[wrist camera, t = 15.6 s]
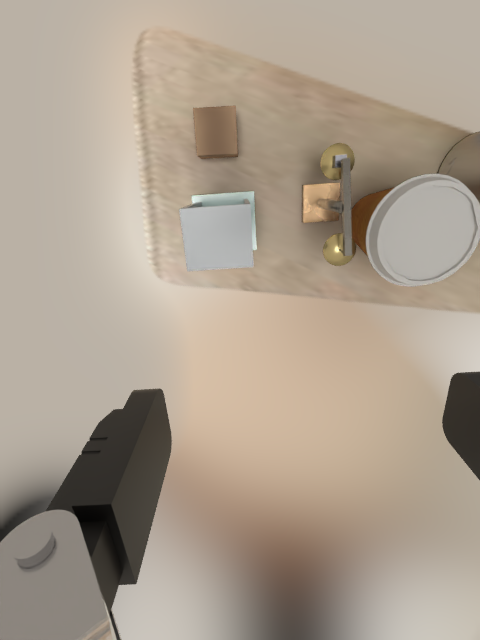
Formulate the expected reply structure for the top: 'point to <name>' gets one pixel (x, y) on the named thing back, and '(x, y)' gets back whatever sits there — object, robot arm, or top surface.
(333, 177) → the balance
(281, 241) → the top surface
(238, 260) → the cover
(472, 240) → the disposable coffee cup
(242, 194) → the slab
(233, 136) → the block
